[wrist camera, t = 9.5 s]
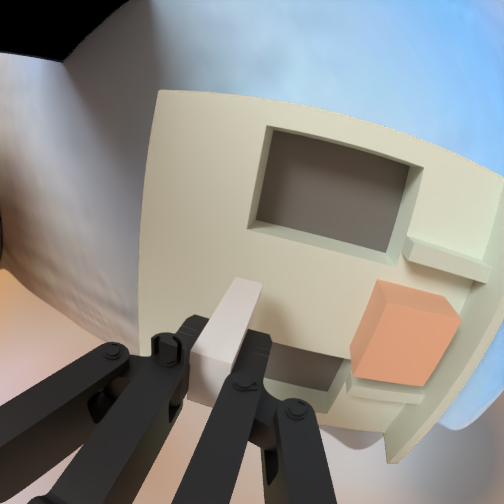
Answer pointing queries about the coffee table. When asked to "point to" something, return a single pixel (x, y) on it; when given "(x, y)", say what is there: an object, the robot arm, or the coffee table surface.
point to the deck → (318, 245)
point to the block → (402, 334)
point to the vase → (50, 25)
